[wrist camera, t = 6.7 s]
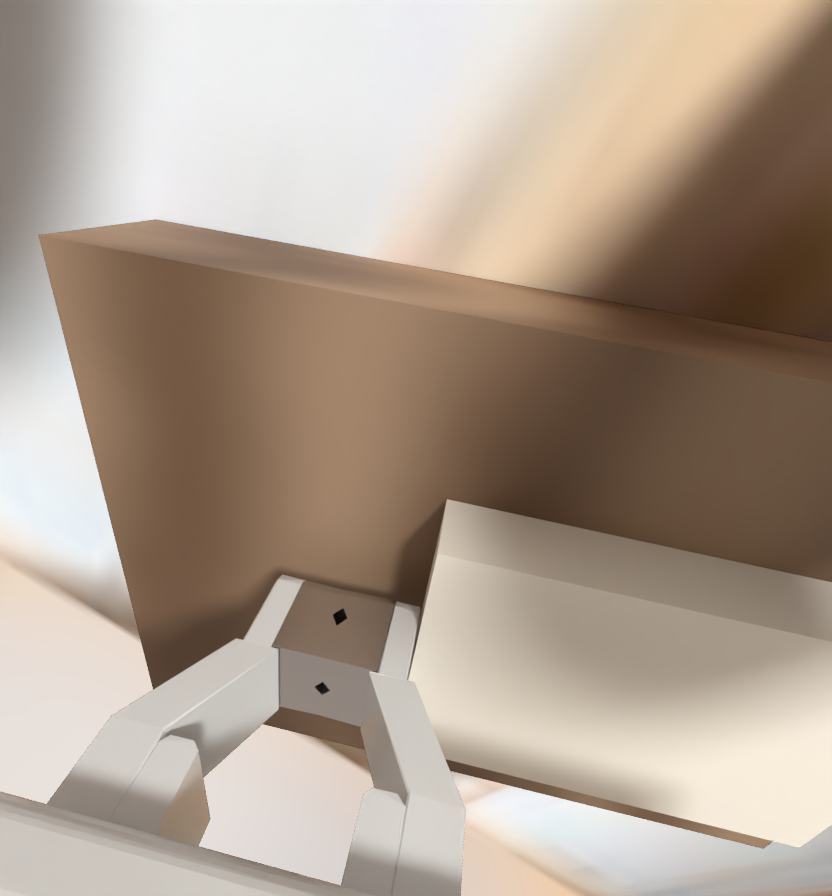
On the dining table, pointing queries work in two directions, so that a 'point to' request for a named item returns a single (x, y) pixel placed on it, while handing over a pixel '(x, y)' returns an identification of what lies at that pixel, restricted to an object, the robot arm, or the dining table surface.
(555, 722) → the tile
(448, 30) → the dining table surface
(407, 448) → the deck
